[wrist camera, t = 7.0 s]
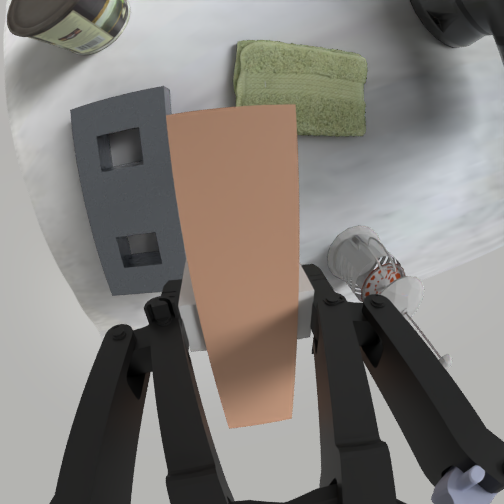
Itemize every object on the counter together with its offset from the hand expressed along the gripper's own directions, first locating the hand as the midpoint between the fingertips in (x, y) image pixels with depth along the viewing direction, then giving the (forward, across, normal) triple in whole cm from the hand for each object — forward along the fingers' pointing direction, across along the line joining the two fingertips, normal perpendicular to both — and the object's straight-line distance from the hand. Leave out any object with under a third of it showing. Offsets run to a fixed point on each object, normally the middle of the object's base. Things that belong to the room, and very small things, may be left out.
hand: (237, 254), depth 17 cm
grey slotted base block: (+20, -12, 0) cm, 24 cm away
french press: (+21, +19, -12) cm, 31 cm away
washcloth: (+21, +10, +12) cm, 26 cm away
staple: (+5, 0, 0) cm, 5 cm away
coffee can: (+21, -16, +26) cm, 37 cm away
